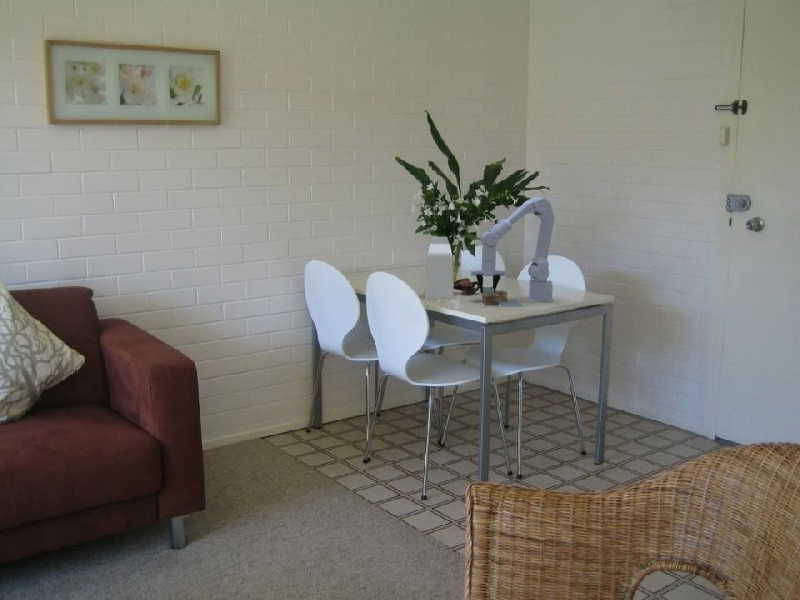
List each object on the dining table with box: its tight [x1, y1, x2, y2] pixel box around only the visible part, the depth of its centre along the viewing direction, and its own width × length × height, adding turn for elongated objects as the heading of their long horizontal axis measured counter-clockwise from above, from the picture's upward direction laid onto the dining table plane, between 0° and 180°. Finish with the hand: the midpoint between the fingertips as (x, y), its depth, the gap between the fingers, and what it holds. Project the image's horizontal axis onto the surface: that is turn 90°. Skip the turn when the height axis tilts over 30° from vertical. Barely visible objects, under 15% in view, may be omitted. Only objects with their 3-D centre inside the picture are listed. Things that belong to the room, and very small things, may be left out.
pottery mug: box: [453, 277, 480, 296], centre depth 393 cm, size 12×10×8 cm
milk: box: [424, 236, 454, 300], centre depth 383 cm, size 12×12×26 cm
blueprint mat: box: [476, 298, 525, 308], centre depth 371 cm, size 17×18×1 cm
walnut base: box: [481, 293, 500, 306], centre depth 367 cm, size 6×6×4 cm
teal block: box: [480, 286, 494, 298], centre depth 374 cm, size 4×4×4 cm
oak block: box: [495, 289, 508, 302], centre depth 376 cm, size 4×4×4 cm
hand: (487, 292), depth 374 cm, fingers closed on teal block, 4 cm apart
